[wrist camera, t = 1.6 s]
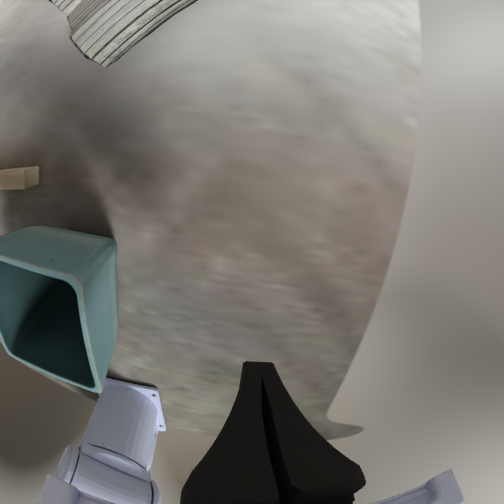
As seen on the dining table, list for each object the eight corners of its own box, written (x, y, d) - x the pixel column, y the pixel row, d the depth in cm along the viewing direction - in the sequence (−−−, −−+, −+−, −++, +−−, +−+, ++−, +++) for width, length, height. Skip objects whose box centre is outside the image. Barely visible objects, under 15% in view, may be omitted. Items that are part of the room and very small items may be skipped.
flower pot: (138, 318, 22) (103, 397, 13) (56, 295, 21) (6, 355, 12) (141, 220, 18) (80, 279, 10) (49, 204, 17) (-27, 245, 9)
